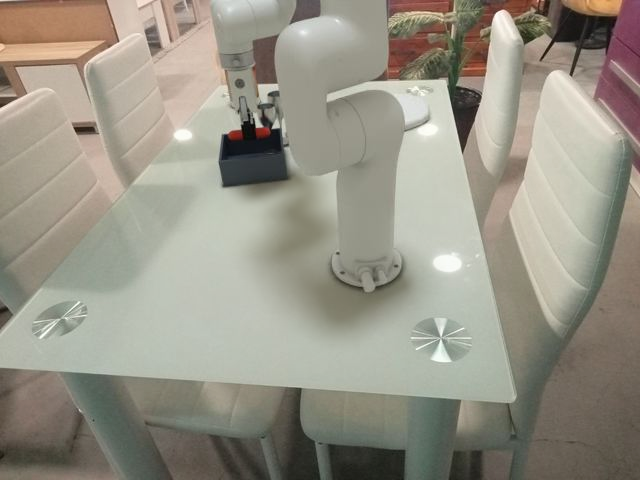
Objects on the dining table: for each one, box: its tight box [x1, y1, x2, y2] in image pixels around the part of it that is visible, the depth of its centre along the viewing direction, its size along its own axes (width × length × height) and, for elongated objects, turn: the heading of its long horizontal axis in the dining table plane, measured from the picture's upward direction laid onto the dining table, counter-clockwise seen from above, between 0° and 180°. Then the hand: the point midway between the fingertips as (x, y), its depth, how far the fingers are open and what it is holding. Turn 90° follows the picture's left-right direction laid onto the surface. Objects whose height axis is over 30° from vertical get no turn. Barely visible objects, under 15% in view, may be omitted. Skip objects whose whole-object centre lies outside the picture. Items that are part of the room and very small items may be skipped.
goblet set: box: [256, 89, 289, 154], centre depth 129 cm, size 28×6×13 cm, turn 153°
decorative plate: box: [389, 92, 430, 131], centre depth 138 cm, size 25×4×25 cm
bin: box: [217, 127, 288, 187], centre depth 117 cm, size 15×15×6 cm
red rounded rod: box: [227, 126, 270, 141], centre depth 114 cm, size 10×2×2 cm, turn 96°
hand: (250, 136), depth 114 cm, fingers closed on red rounded rod, 2 cm apart
